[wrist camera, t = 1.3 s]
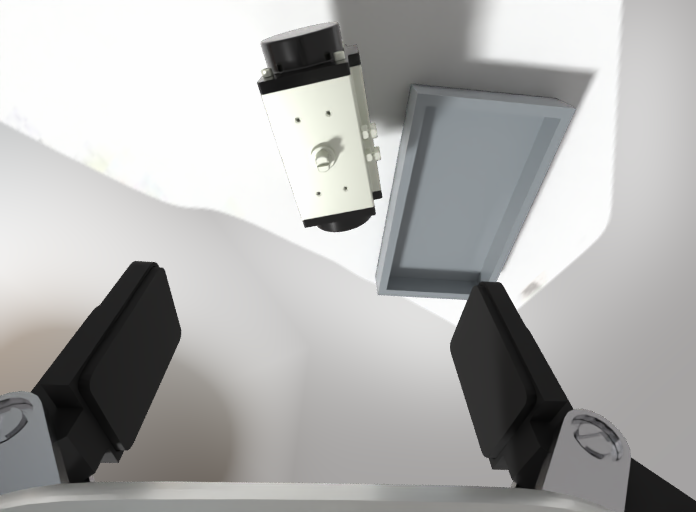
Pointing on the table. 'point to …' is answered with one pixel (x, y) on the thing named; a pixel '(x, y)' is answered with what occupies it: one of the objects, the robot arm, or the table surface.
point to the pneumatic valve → (322, 125)
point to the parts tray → (463, 187)
